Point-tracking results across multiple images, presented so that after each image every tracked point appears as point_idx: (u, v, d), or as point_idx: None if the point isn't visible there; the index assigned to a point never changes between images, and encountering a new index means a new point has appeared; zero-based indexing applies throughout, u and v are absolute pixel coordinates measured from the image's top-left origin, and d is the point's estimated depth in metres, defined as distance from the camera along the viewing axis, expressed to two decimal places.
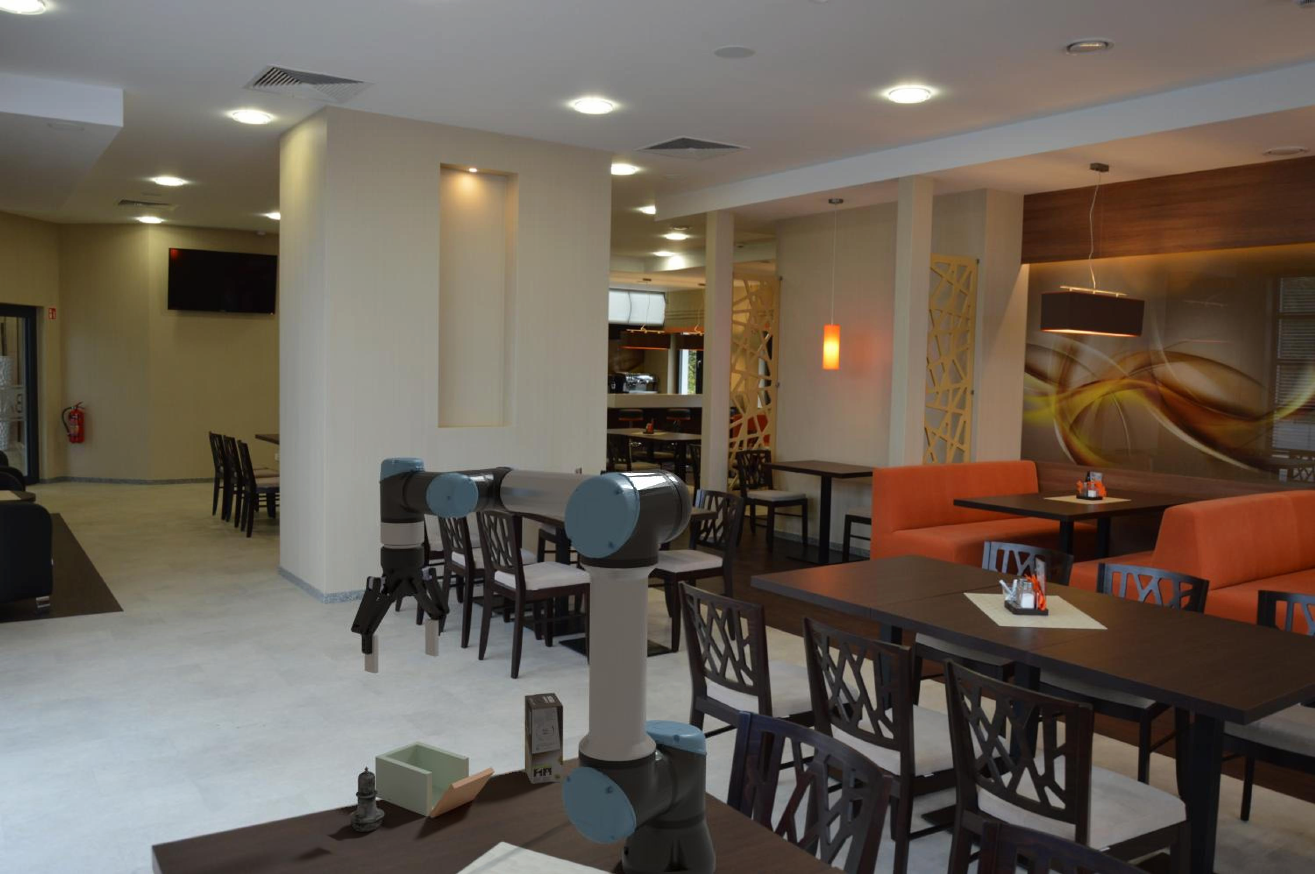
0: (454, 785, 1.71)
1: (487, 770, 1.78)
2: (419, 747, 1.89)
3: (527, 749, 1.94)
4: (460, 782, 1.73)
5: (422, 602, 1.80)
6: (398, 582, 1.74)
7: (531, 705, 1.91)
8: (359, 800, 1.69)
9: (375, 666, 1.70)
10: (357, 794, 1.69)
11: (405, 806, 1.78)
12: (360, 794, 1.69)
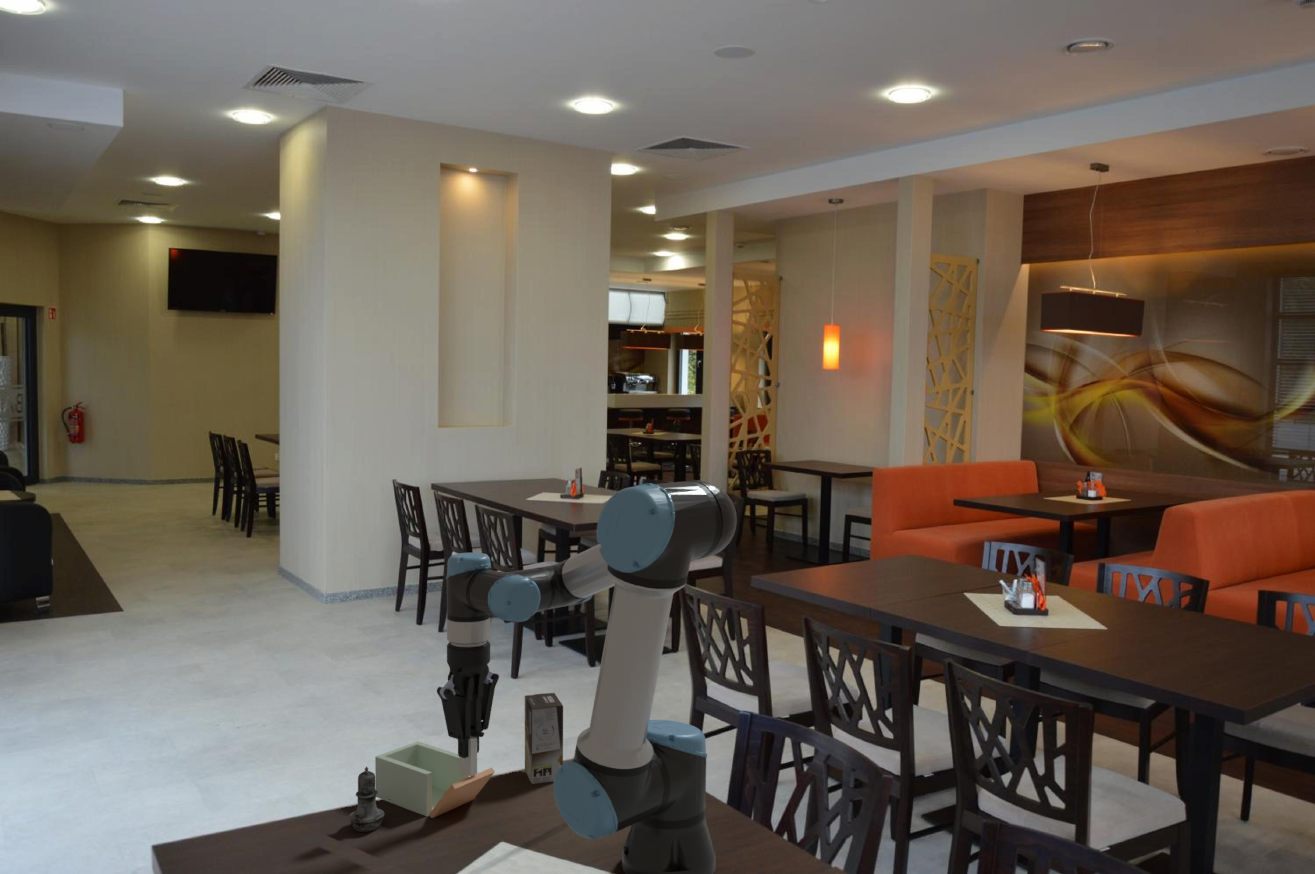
0: (454, 785, 1.71)
1: (487, 770, 1.78)
2: (419, 747, 1.89)
3: (527, 749, 1.94)
4: (460, 782, 1.72)
5: (472, 707, 1.75)
6: (465, 683, 1.73)
7: (531, 705, 1.91)
8: (359, 800, 1.69)
9: (471, 769, 1.74)
10: (357, 794, 1.69)
11: (405, 806, 1.78)
12: (360, 794, 1.69)
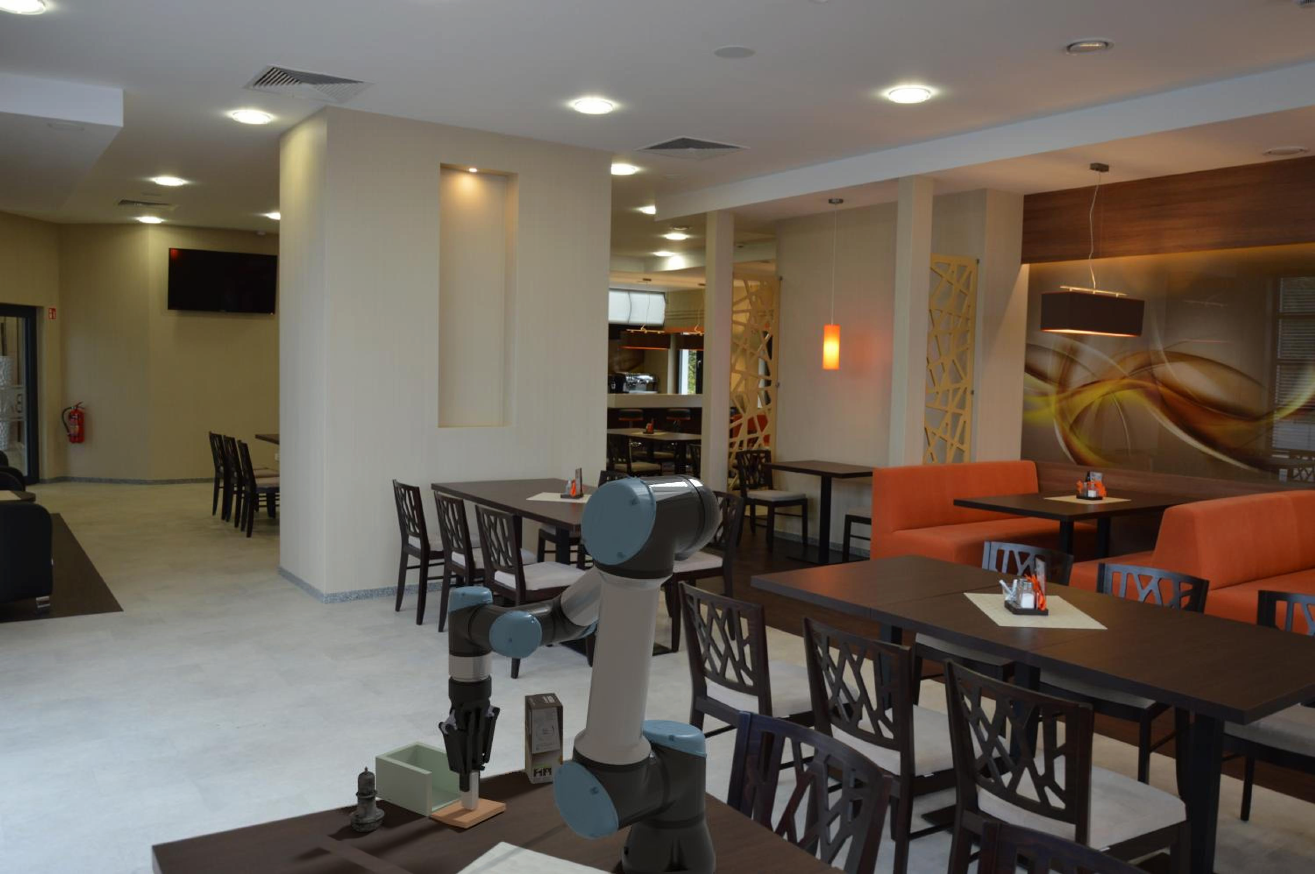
0: (467, 824, 1.70)
1: (500, 807, 1.76)
2: (419, 747, 1.89)
3: (527, 749, 1.94)
4: (473, 821, 1.71)
5: (473, 741, 1.76)
6: (466, 717, 1.73)
7: (531, 705, 1.91)
8: (359, 800, 1.69)
9: (472, 803, 1.74)
10: (357, 794, 1.69)
11: (405, 806, 1.78)
12: (360, 794, 1.69)
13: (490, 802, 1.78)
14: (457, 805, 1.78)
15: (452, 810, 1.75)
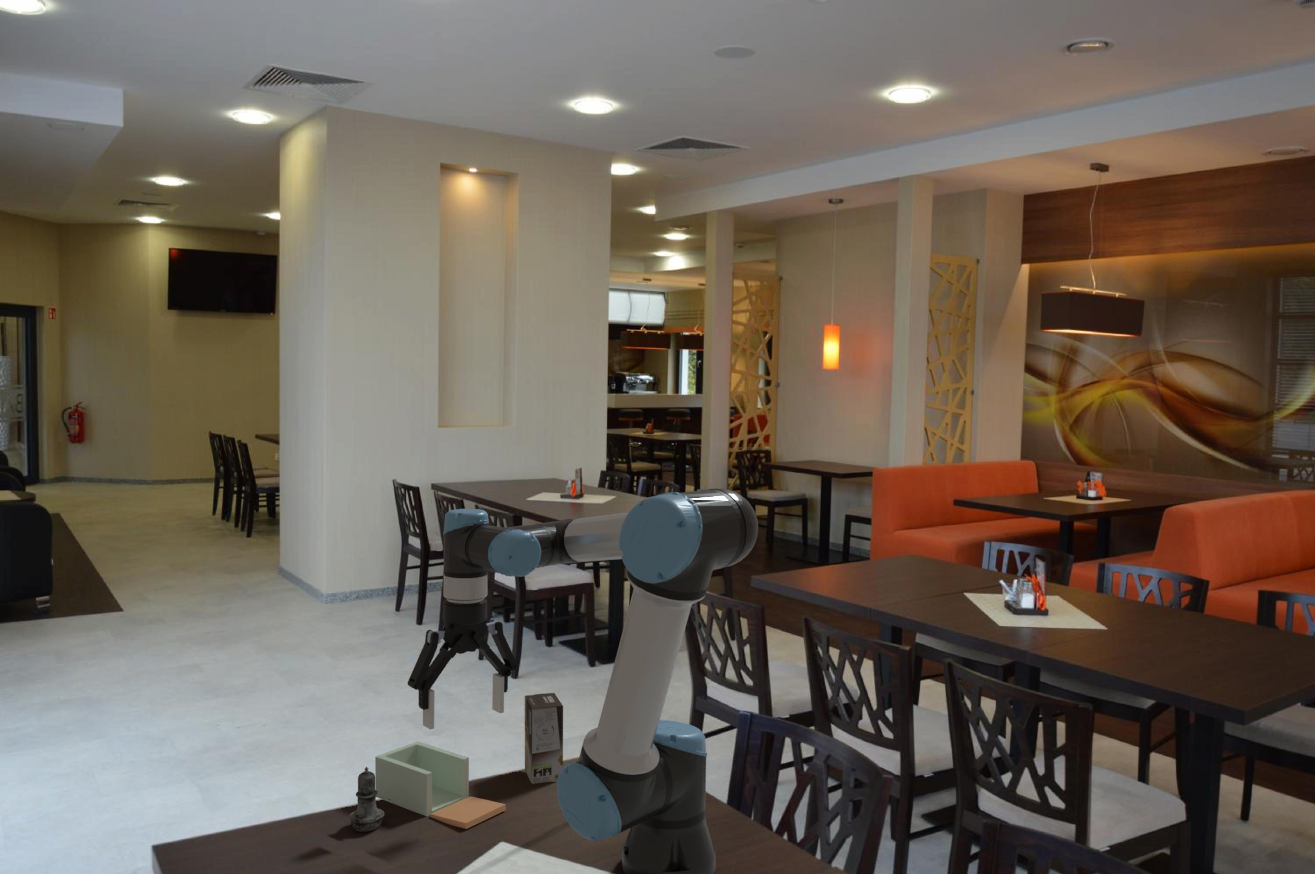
0: (467, 825, 1.70)
1: (500, 808, 1.76)
2: (419, 747, 1.89)
3: (527, 749, 1.94)
4: (473, 821, 1.71)
5: (487, 657, 1.75)
6: (458, 637, 1.70)
7: (531, 705, 1.91)
8: (359, 800, 1.69)
9: (430, 722, 1.68)
10: (357, 794, 1.69)
11: (405, 806, 1.78)
12: (360, 794, 1.69)
13: (490, 802, 1.78)
14: (457, 805, 1.78)
15: (452, 811, 1.75)
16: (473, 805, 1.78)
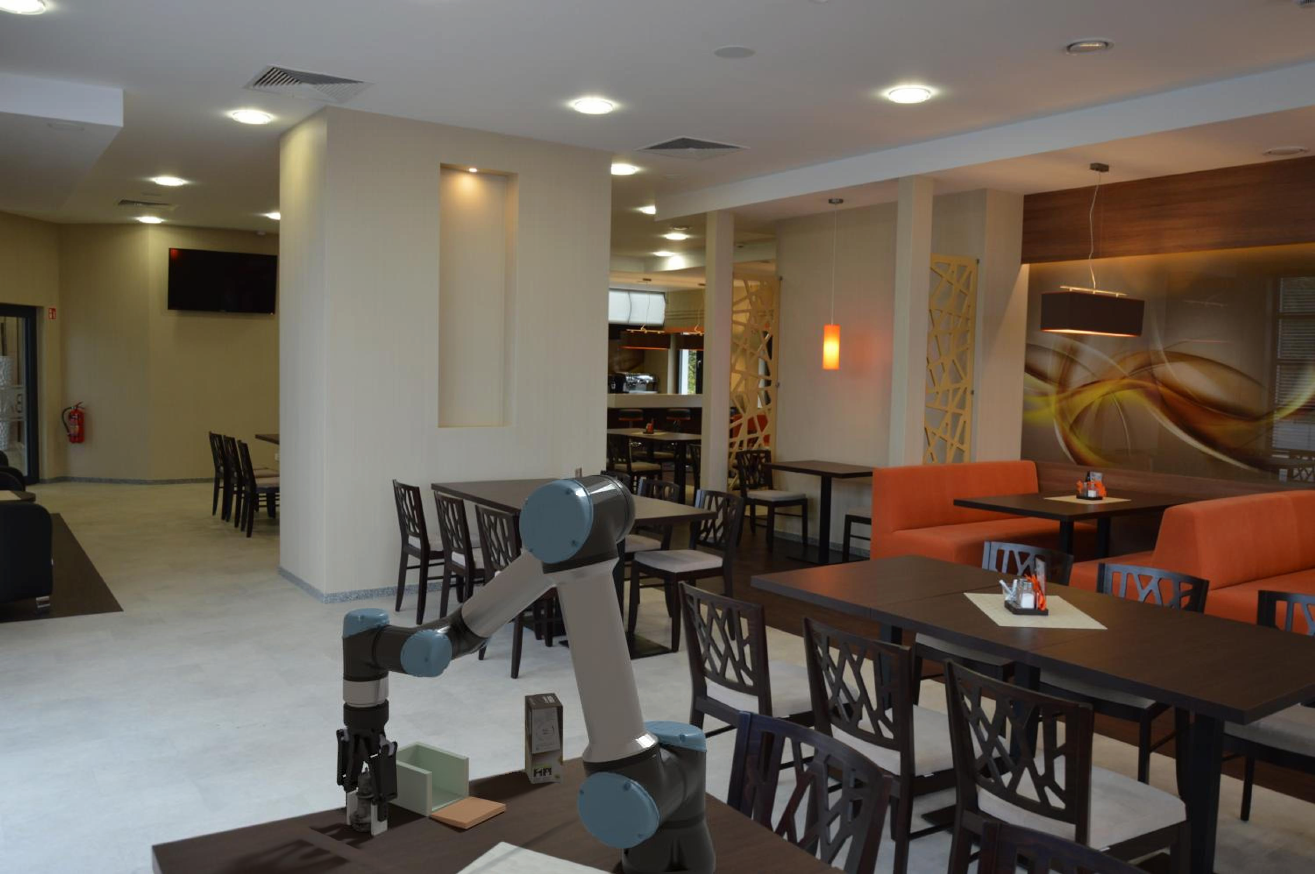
0: (467, 825, 1.70)
1: (500, 808, 1.76)
2: (419, 747, 1.89)
3: (527, 749, 1.94)
4: (473, 821, 1.71)
5: None
6: None
7: (531, 705, 1.91)
8: (359, 800, 1.69)
9: (347, 823, 1.72)
10: (357, 794, 1.69)
11: (405, 806, 1.78)
12: (360, 794, 1.69)
13: (490, 802, 1.78)
14: (457, 805, 1.78)
15: (452, 811, 1.75)
16: (473, 805, 1.78)
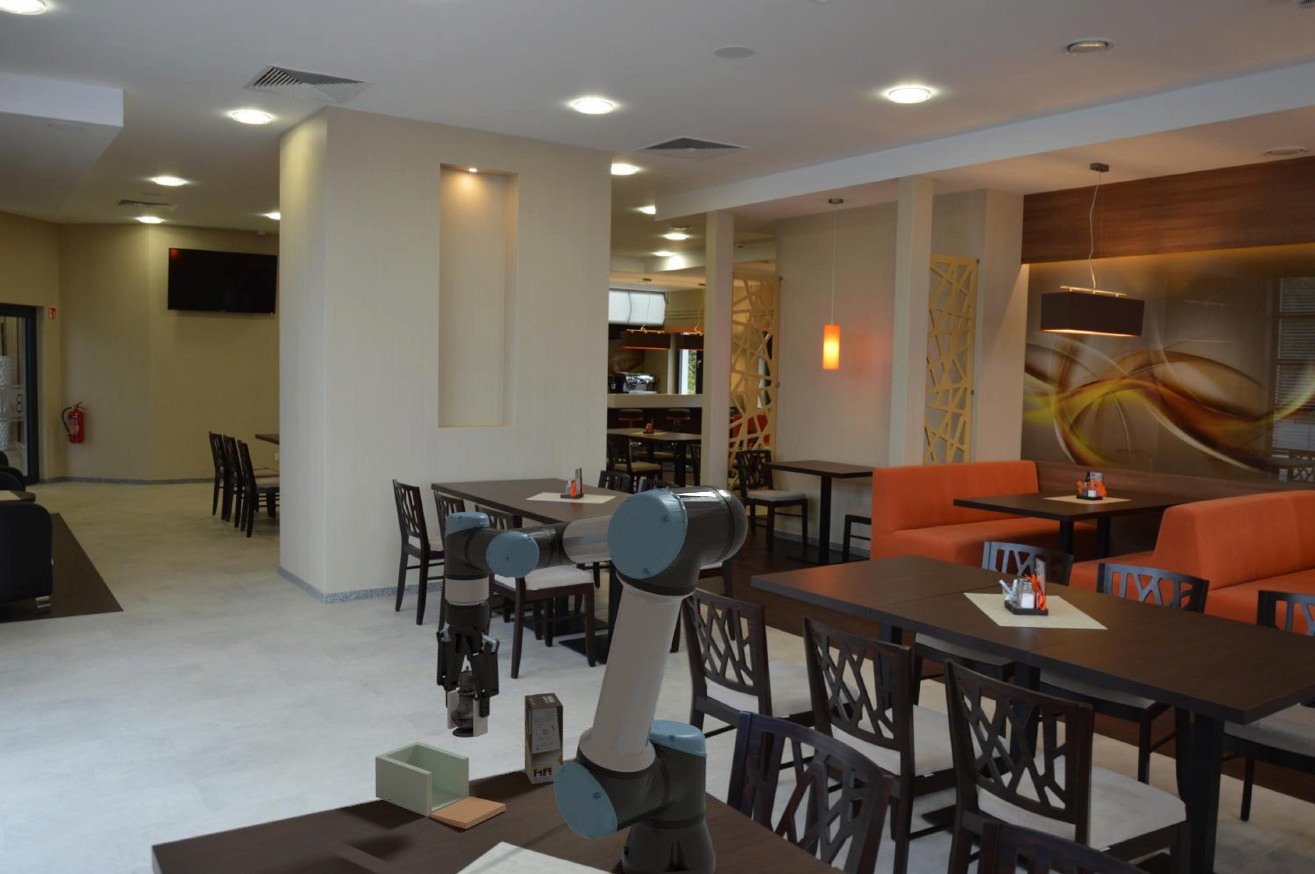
0: (467, 825, 1.70)
1: (500, 808, 1.76)
2: (419, 747, 1.89)
3: (527, 749, 1.94)
4: (473, 821, 1.71)
5: None
6: None
7: (531, 705, 1.91)
8: (461, 697, 1.74)
9: (447, 721, 1.76)
10: (459, 691, 1.74)
11: (405, 806, 1.78)
12: (462, 691, 1.74)
13: (490, 802, 1.78)
14: (457, 805, 1.78)
15: (452, 811, 1.75)
16: (473, 805, 1.78)
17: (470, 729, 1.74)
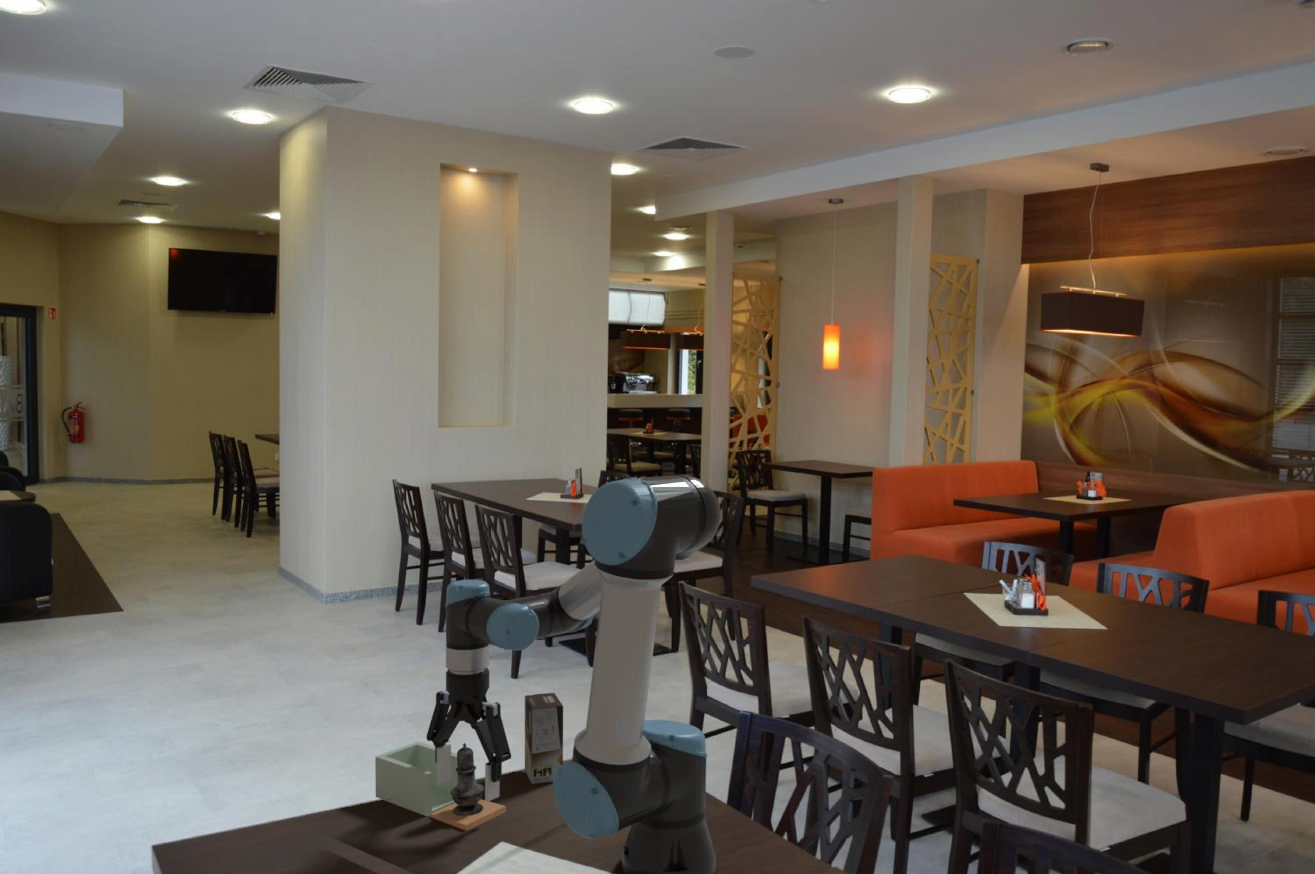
0: (467, 827, 1.70)
1: (500, 810, 1.76)
2: (419, 747, 1.89)
3: (527, 749, 1.94)
4: (473, 823, 1.71)
5: None
6: None
7: (531, 705, 1.91)
8: (459, 775, 1.75)
9: (437, 777, 1.78)
10: (457, 770, 1.75)
11: (405, 806, 1.78)
12: (460, 770, 1.75)
13: (490, 804, 1.78)
14: None
15: (452, 811, 1.75)
16: None
17: (470, 806, 1.75)
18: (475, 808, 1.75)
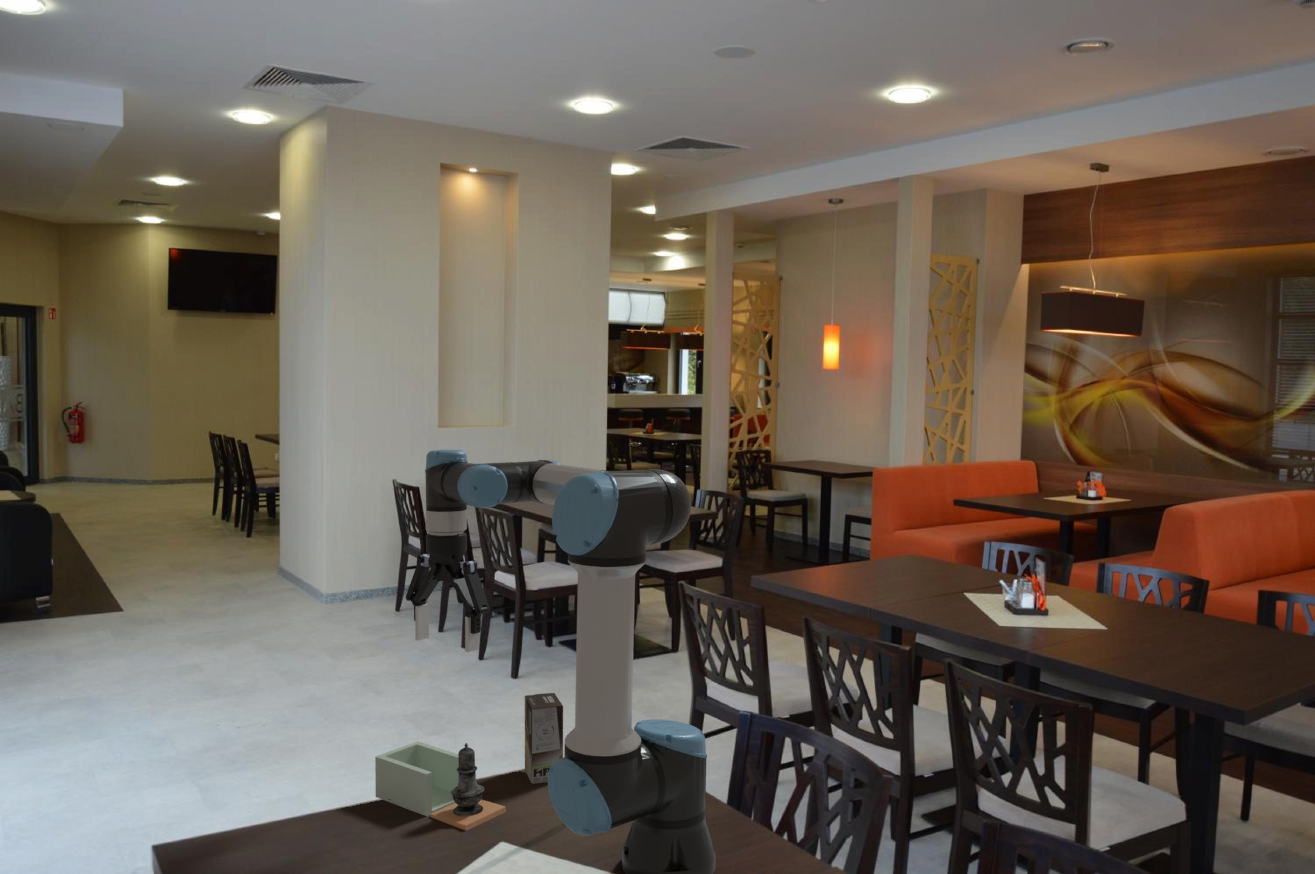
0: (467, 827, 1.70)
1: (500, 810, 1.76)
2: (419, 747, 1.89)
3: (527, 749, 1.94)
4: (473, 824, 1.71)
5: None
6: None
7: (531, 705, 1.91)
8: (460, 775, 1.75)
9: (415, 633, 1.90)
10: (458, 769, 1.75)
11: (405, 806, 1.78)
12: (461, 770, 1.75)
13: (490, 804, 1.78)
14: None
15: (452, 811, 1.75)
16: None
17: (470, 807, 1.75)
18: (475, 809, 1.75)
